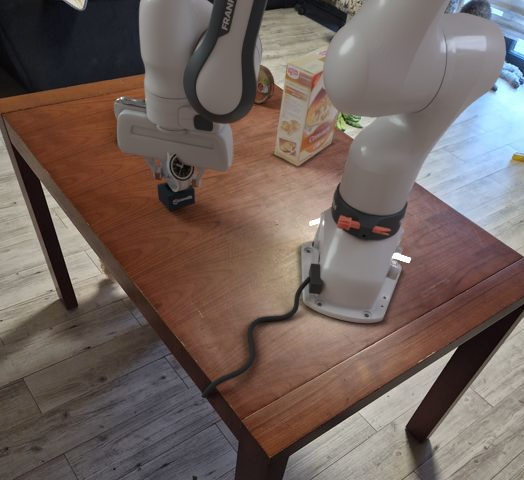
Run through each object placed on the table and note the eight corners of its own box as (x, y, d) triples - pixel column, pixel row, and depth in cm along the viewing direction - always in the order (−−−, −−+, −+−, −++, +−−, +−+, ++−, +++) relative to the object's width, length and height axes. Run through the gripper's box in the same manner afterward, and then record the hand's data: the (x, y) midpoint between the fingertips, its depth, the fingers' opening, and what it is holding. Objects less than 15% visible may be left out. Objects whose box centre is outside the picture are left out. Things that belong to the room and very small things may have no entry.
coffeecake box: (298, 167, 105) (314, 74, 90) (272, 154, 107) (284, 61, 92) (332, 143, 113) (353, 54, 98) (308, 132, 115) (325, 43, 100)
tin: (223, 87, 126) (224, 52, 119) (231, 84, 127) (233, 49, 121) (266, 109, 121) (270, 74, 114) (274, 105, 122) (278, 70, 116)
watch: (174, 216, 87) (170, 161, 79) (154, 194, 91) (148, 139, 82) (200, 208, 90) (199, 153, 81) (180, 187, 93) (176, 132, 85)
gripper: (104, 102, 75) (117, 180, 86) (229, 125, 74) (226, 201, 85) (119, 86, 79) (129, 163, 90) (237, 108, 78) (234, 183, 89)
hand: (177, 182), depth 87 cm, fingers closed on watch, 6 cm apart
